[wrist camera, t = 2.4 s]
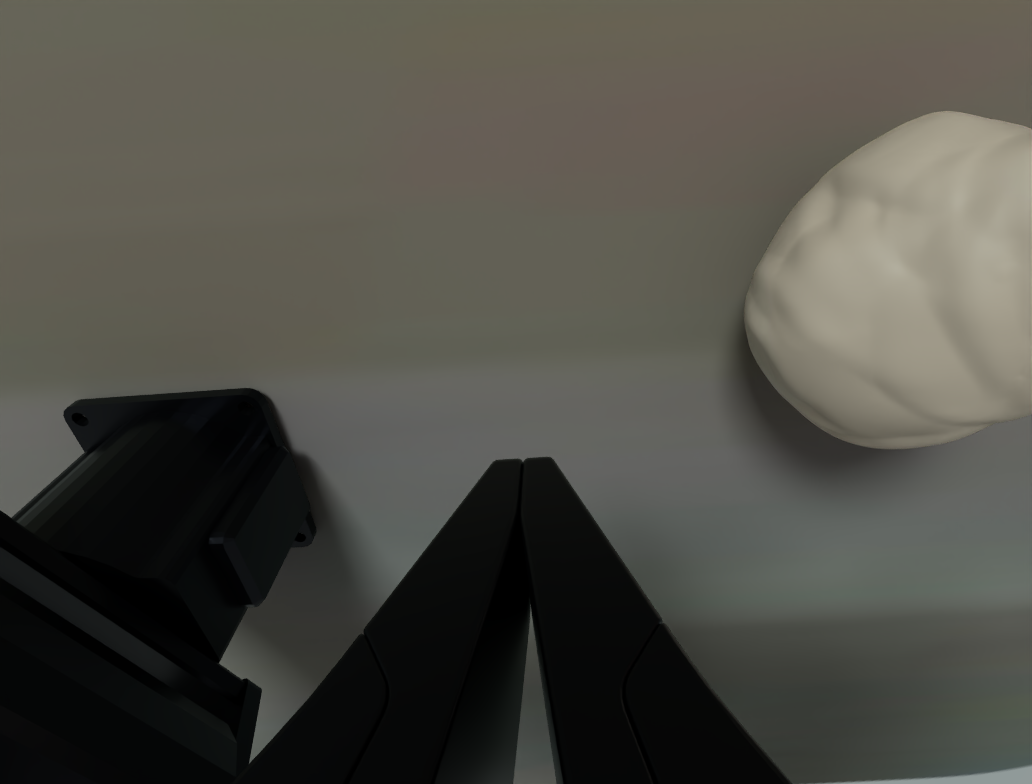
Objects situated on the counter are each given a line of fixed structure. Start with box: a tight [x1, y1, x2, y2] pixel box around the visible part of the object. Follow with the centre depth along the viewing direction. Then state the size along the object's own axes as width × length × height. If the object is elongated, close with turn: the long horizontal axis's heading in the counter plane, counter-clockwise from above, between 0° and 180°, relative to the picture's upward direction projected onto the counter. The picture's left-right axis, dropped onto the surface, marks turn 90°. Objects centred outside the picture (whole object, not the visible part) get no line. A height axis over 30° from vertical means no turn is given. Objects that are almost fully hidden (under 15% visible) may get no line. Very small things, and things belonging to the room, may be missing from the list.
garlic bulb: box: [744, 111, 1032, 449], centre depth 12 cm, size 7×6×8 cm
